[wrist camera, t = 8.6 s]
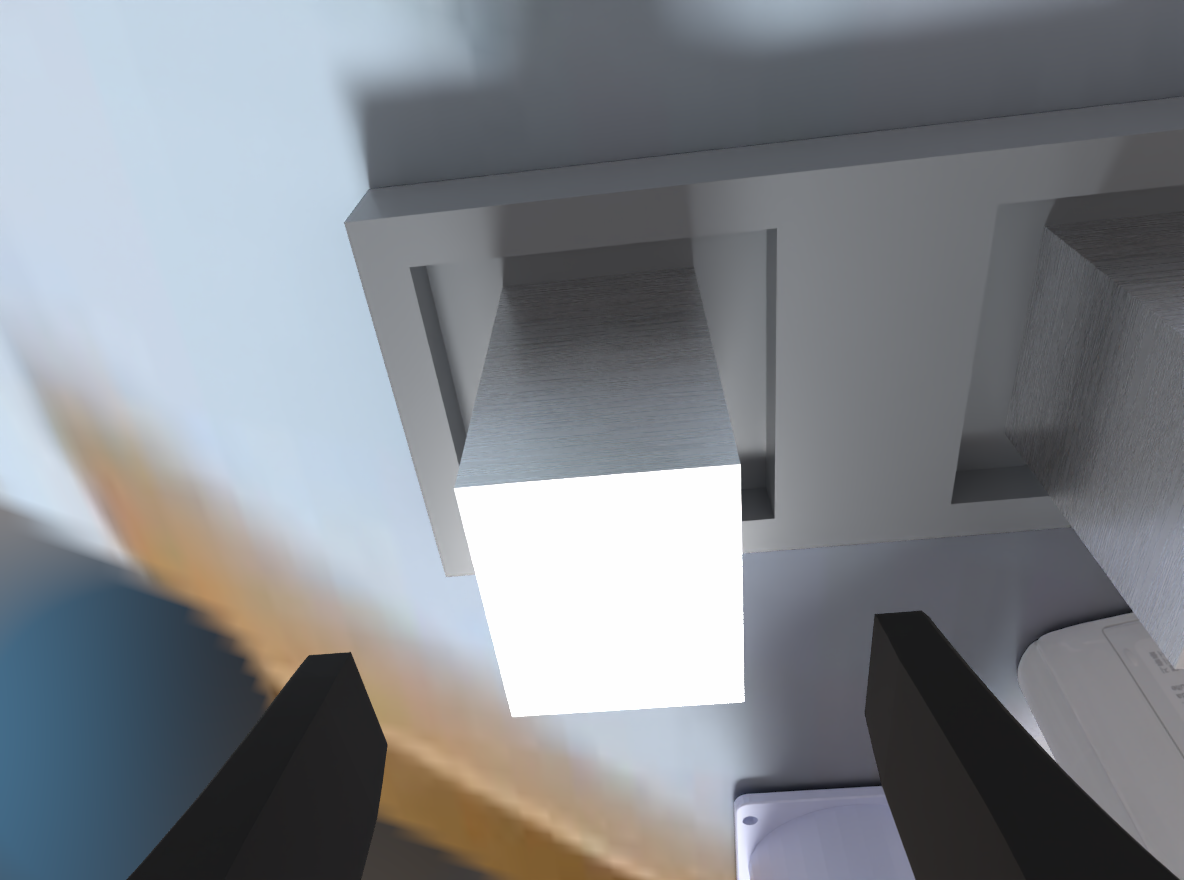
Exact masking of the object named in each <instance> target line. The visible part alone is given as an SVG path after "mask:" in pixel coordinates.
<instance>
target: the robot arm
mask: <svg viewBox="0 0 1184 880" xmlns="http://www.w3.org/2000/svg"><path fill="white" fill-rule="evenodd" d="M865 717H866V721H867V725H868V730H869V734H870V738H871V743H872V747H873V751H874V755H875V759H876V763H877V767H878V771H879V775H880V779H881V783H882V786H871V787H854V788H837V789H820V790H803V791H786V792H769V793H752V794H744V795H741V796H739V797H738V798H737V799H736V800H735V802H734V822H735V851H736V879H737V880H1180V879H1179V878H1178V877H1177V876H1175V875H1174V874H1173V873H1172V872H1171V871H1170V870H1169V869H1167V868H1166V867H1165V866H1164V865H1163V864H1162V863H1161V862H1159V861H1158V860H1157V859H1156V858H1155V857H1154V856H1153V855H1151V854H1150V853H1149V852H1148V851H1147V850H1146V849H1145V848H1144V847H1143V846H1142V845H1141V844H1139V843H1138V842H1137V841H1136V840H1135V839H1134V838H1133V837H1132V836H1131V835H1130V834H1129V833H1128V832H1126V831H1125V830H1124V829H1123V828H1122V827H1121V826H1120V825H1119V824H1118V823H1117V822H1116V821H1115V820H1114V819H1113V818H1112V817H1111V816H1109V815H1108V814H1107V813H1106V812H1105V811H1104V810H1103V809H1102V808H1101V807H1100V806H1099V805H1098V804H1097V803H1096V802H1095V801H1094V800H1093V799H1092V798H1091V797H1090V796H1089V795H1088V794H1087V793H1086V792H1085V791H1084V790H1083V789H1082V788H1081V787H1080V786H1079V785H1078V784H1077V783H1076V782H1075V781H1074V780H1073V779H1072V778H1071V777H1070V776H1069V775H1068V774H1067V773H1066V772H1065V771H1064V770H1063V769H1062V768H1061V767H1060V766H1059V765H1058V764H1057V763H1056V762H1055V761H1054V760H1053V759H1052V758H1051V757H1050V756H1049V754H1048V753H1047V752H1046V751H1045V750H1044V749H1043V748H1042V747H1041V746H1040V745H1039V744H1038V743H1037V742H1036V741H1035V739H1034V738H1033V737H1032V736H1031V735H1030V734H1029V733H1028V732H1027V731H1026V730H1025V729H1024V728H1023V727H1022V726H1021V724H1020V723H1019V722H1018V721H1017V720H1016V719H1015V718H1014V717H1013V716H1012V715H1011V714H1010V713H1009V711H1008V710H1007V709H1006V708H1005V707H1004V706H1003V705H1002V704H1001V702H1000V701H999V700H998V699H997V698H996V697H995V696H994V695H993V693H992V692H991V691H990V690H989V689H988V688H987V686H986V685H985V684H984V683H983V682H982V681H981V679H980V678H979V677H978V676H977V675H976V674H975V673H974V671H973V670H972V669H971V668H970V667H969V665H968V664H967V663H966V662H965V661H964V659H963V658H962V657H961V656H960V655H959V653H958V652H957V651H956V650H955V649H954V647H953V646H952V645H951V644H950V642H949V641H948V640H947V639H946V638H945V636H944V635H943V634H942V633H941V631H940V630H939V629H938V628H937V626H936V625H935V624H934V623H933V621H932V620H931V619H930V618H929V616H927V615H926V614H925V613H924V612H922V611H913V612H899V613H885V614H875V617H874V627H873V637H872V647H871V657H870V667H869V676H868V686H867V696H866V706H865ZM386 752H387V742H386V739H385V737H384V734H383V732H382V729H381V727H380V724H379V722H378V719H377V717H376V714H375V712H374V709H373V707H372V704H371V702H370V699H369V697H368V694H367V692H366V689H365V687H364V684H363V682H362V679H361V677H360V674H359V672H358V669H357V667H356V664H355V662H354V659H353V657H352V654H351V652H349V653H335V654H321V655H309V656H308V657H307V658H306V659H305V660H304V662H303V663H302V664H301V665H300V667H299V668H298V669H297V671H296V672H295V673H294V674H293V676H292V677H291V678H290V680H289V681H288V682H287V684H286V685H285V686H284V688H283V689H282V690H281V692H280V693H279V694H278V695H277V697H276V698H275V699H274V701H273V702H272V703H271V705H270V706H269V707H268V709H267V710H266V711H265V713H264V714H263V715H262V717H261V718H260V719H259V721H258V722H257V723H256V724H255V726H254V727H253V728H252V730H251V731H250V732H249V734H248V735H247V736H246V738H245V739H244V740H243V741H242V743H241V744H240V745H239V747H238V748H237V749H236V750H235V752H234V753H233V754H232V755H231V757H230V758H229V759H228V760H227V762H226V763H225V764H224V765H223V767H222V768H221V769H220V770H219V772H218V773H217V774H216V775H215V777H214V778H213V779H212V780H211V782H210V783H209V784H208V785H207V787H206V788H205V789H204V791H203V792H202V793H201V794H200V795H199V797H198V798H197V799H196V800H195V802H194V803H193V804H192V805H191V806H190V808H189V809H188V810H187V811H186V812H185V813H184V815H183V816H182V817H181V818H180V819H179V820H178V821H177V823H176V824H175V825H174V826H173V827H172V828H171V830H170V831H169V832H168V833H167V834H166V835H165V837H164V838H163V839H162V840H161V841H160V842H159V844H158V845H157V846H156V847H155V848H154V849H153V851H152V852H151V853H150V854H149V855H148V856H147V857H146V859H145V860H144V861H143V862H142V863H141V864H140V865H139V867H138V868H137V869H136V870H135V871H134V872H133V873H132V874H131V875H130V876H129V878H128V879H127V880H361V878H362V874H363V870H364V866H365V862H366V859H367V855H368V851H369V847H370V843H371V839H372V836H373V832H374V828H375V824H376V820H377V815H378V808H379V802H380V796H381V789H382V782H383V775H384V767H385V759H386Z"/></svg>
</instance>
